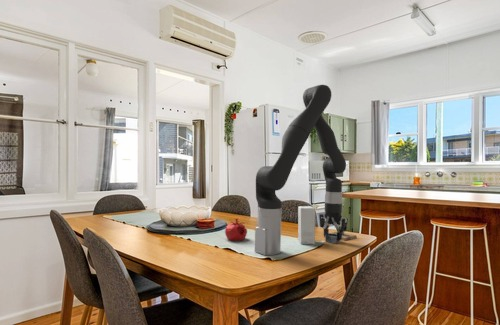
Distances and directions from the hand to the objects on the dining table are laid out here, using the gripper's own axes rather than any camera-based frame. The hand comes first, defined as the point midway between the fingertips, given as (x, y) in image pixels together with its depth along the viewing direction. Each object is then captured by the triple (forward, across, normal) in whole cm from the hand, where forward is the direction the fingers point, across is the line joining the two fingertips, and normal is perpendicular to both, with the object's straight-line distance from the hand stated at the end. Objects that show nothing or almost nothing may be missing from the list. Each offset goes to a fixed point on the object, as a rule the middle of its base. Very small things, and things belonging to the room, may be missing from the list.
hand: (332, 238), depth 138 cm
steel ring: (+1, 0, 0) cm, 1 cm away
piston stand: (+1, -3, +11) cm, 11 cm away
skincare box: (+1, -6, -11) cm, 13 cm away
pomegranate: (+1, -27, -34) cm, 44 cm away
